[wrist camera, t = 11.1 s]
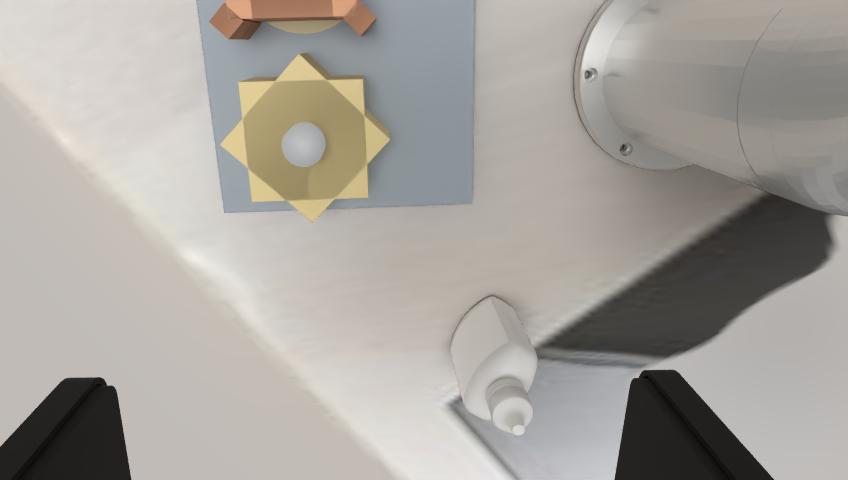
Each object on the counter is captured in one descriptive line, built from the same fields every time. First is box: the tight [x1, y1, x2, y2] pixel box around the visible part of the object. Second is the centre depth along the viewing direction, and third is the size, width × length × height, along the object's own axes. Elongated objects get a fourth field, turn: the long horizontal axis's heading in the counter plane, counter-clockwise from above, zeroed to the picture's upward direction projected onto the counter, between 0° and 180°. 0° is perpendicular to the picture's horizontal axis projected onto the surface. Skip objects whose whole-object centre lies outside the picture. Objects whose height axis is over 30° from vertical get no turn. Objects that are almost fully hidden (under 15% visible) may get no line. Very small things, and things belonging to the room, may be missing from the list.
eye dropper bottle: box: [450, 296, 538, 436], centre depth 38 cm, size 4×6×12 cm
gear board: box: [196, 0, 475, 223], centre depth 33 cm, size 16×20×7 cm
